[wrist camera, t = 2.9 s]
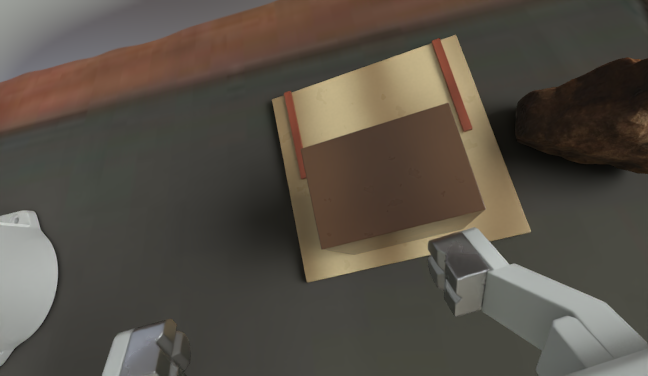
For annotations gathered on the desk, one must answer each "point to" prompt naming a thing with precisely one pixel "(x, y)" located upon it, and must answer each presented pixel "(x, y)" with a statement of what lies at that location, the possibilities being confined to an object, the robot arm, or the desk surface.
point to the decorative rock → (592, 117)
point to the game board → (382, 106)
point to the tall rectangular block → (392, 183)
